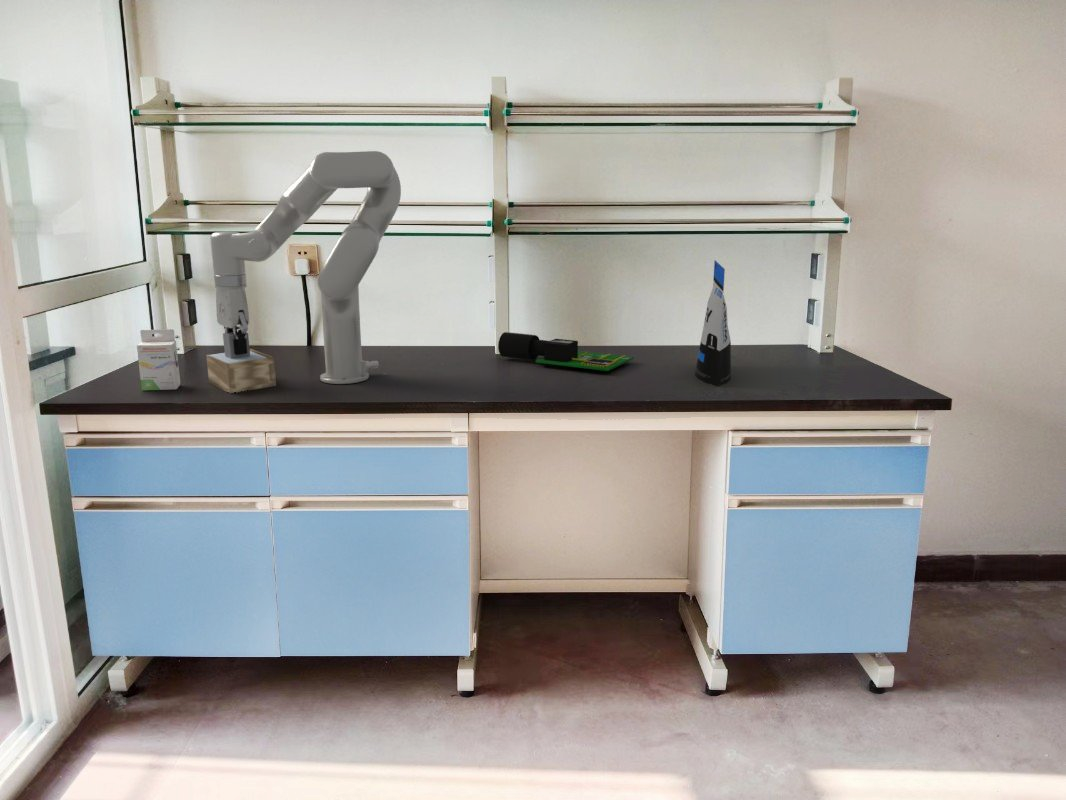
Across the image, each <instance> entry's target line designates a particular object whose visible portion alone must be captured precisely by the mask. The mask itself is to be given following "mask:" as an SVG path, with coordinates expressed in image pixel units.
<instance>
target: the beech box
mask: <svg viewBox="0 0 1066 800" xmlns="http://www.w3.org/2000/svg"><path fill="white" fill-rule="evenodd" d="M250 351H251V352H254V353H257V354H259V355H262V356H265V357H267V358H263V359H256V360H249V361H242V362H235V363H226V362H224V361H221V360H219V359H216V358H214V357H212V356H209V355H210V354H206V367H207V376H208V383H209V384H210V385H212V386H214V387H216V388H218V389H221V390H222V391H224V392H226V393H228V392H229V394H234V392H236V393H241V391H242V392H248V391H252V390H258V389H265V388H270V387H276V386H277V381H276V370H275V358H274V357H273V356H272V355H269V354H266V353H263V352H260V351H257V350H255V349H252V348H250ZM247 390H248V391H247Z"/></svg>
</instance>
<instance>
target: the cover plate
mask: <svg viewBox="0 0 1066 800" xmlns="http://www.w3.org/2000/svg"><path fill="white" fill-rule="evenodd" d="M237 333H238V331H237ZM246 336H247V338H246V342H247V354H240V355H235V354H234V344H233V339H235V338H234V332H230V333H225V332H224V333H222V338H223V347H224V348H223V349H224V351H223V352H221V353H215V354H214V353H213V354H208V355H209V356H212V357H214V358H216V359H219V360H221V361H224V362H226V363H235V362H242V361H249V360H256V359H263V358H267V357H265V356H262V355H259V354H257V353H254V352H251V351H250V349H251V348H250V339H249V333H248V332H246Z"/></svg>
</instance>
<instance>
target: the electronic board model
mask: <svg viewBox="0 0 1066 800" xmlns="http://www.w3.org/2000/svg"><path fill="white" fill-rule="evenodd" d="M578 348H579V341H578V340H572V339H562V338H554V339H551V340H544V339H540V337H539V336H538V335H536V334H531V333H529V334H528V333H521V332H520V333H519V332H511V331H504V332H502V333H501V335H500V337H499V340H498V345H497V349H498V353H499V355H500V356H501V357H505V358H512V359H521V360H531V361H535V363H538V364H543V365H544V368H548V369H550V368H551V369H558V370H569V369H571V368H580V369H589V370H596V371H597V370H598V371H604V372H609V371H611V370H613V369H616V368H617V367H619V366H621V365H624V364H626V363H628V362H630V361H632V360H634V356H628V355H625V354H624V355H619V354H611V353H601V352H593V351H582V350H579V349H578ZM538 357H541V358H539V359H538Z"/></svg>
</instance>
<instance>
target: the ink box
mask: <svg viewBox="0 0 1066 800" xmlns="http://www.w3.org/2000/svg"><path fill="white" fill-rule="evenodd" d="M139 332H140V338H141V341H140V342H139V343H138V344H137V345H136V351H137V360H138V368H139V369H138V370H139V377H140V386H141V391H162V390H163V391H165V390H166V391H168V390H177V389H179V387H180V385H181V376H180V367H179V358H178V348H177V347H178V346H177V341H176V338H175V330H174V329H172V328H170V329H169V328H167V329H163V328H162V329H141V330H140V331H139ZM156 334H159V336H154V335H156ZM160 335H162V336H160Z"/></svg>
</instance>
